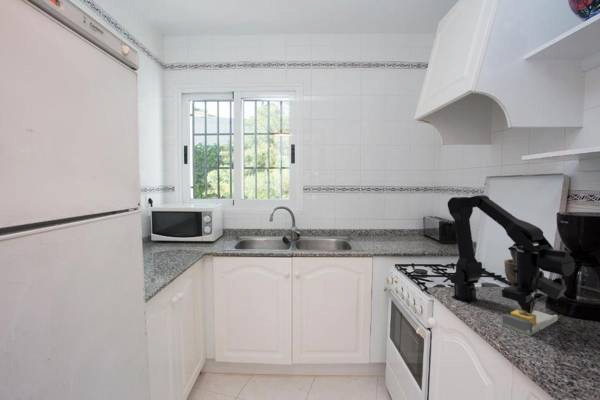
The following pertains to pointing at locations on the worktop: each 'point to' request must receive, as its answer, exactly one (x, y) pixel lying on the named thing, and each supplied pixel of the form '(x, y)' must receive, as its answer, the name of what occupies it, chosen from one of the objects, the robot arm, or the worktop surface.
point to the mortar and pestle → (511, 268)
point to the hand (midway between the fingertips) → (528, 316)
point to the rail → (526, 326)
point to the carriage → (524, 316)
